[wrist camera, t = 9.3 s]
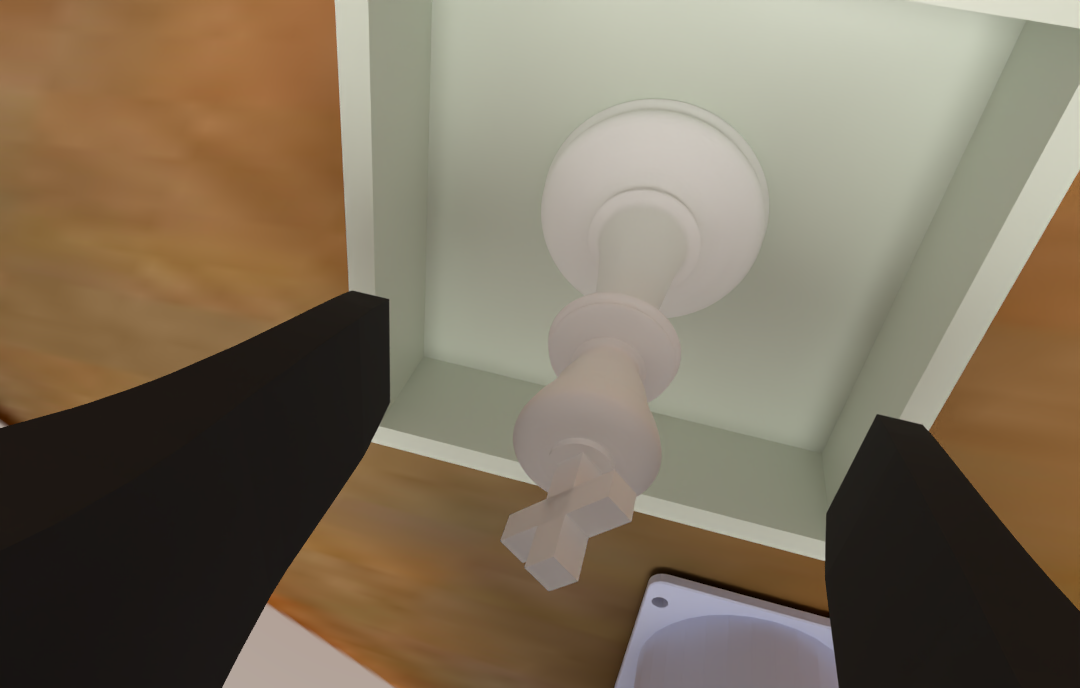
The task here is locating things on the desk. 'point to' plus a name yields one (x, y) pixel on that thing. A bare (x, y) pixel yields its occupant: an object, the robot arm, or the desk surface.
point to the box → (790, 239)
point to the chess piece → (626, 308)
